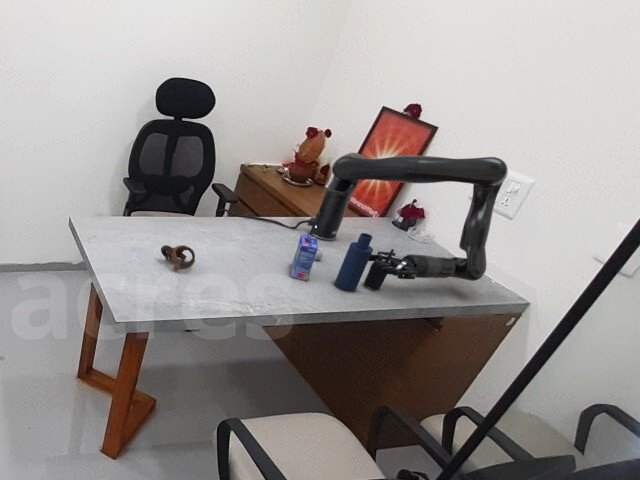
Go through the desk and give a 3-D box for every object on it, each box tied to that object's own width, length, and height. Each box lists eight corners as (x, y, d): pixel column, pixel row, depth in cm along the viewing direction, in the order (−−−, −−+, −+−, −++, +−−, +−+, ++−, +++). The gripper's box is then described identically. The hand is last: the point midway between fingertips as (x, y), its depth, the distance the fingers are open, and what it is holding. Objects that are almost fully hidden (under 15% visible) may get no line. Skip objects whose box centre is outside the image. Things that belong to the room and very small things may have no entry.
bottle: (332, 286, 172) (353, 235, 162) (336, 279, 177) (357, 229, 167) (352, 294, 169) (375, 242, 159) (357, 286, 174) (379, 235, 164)
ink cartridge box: (290, 264, 183) (303, 227, 175) (306, 268, 182) (320, 231, 174) (290, 277, 175) (304, 238, 167) (307, 281, 174) (321, 242, 166)
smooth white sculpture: (321, 264, 188) (312, 261, 186) (308, 253, 195) (299, 250, 193) (328, 254, 186) (319, 250, 184) (315, 243, 193) (305, 240, 191)
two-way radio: (381, 289, 174) (399, 249, 166) (377, 293, 171) (395, 253, 163) (364, 282, 177) (381, 243, 169) (360, 286, 174) (377, 247, 166)
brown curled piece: (192, 261, 179) (201, 249, 171) (183, 282, 174) (192, 270, 167) (161, 246, 179) (168, 233, 172) (151, 267, 175) (158, 254, 168)
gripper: (412, 246, 174) (368, 243, 173) (440, 267, 163) (392, 264, 161) (403, 265, 178) (359, 263, 177) (429, 287, 167) (382, 285, 165)
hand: (375, 263), depth 169 cm, fingers open, 8 cm apart
